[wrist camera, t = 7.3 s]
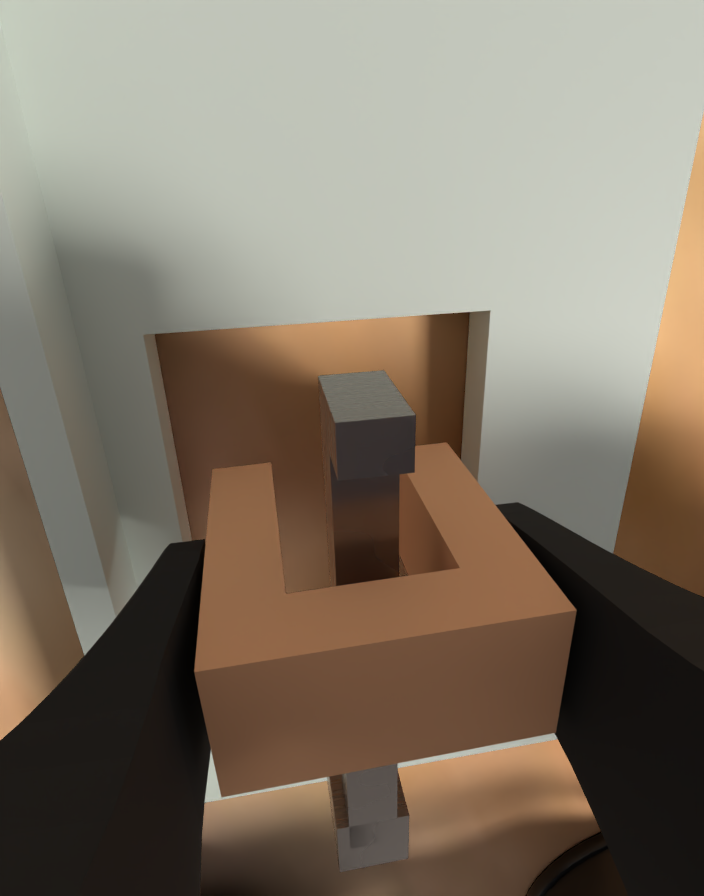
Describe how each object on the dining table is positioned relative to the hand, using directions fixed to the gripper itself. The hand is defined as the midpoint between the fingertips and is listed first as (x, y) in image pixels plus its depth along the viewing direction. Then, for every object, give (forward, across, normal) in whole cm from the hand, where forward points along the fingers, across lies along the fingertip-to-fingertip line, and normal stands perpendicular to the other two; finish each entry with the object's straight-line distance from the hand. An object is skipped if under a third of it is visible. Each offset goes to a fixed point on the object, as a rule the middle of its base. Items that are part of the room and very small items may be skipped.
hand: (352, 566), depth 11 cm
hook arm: (+4, 0, +1) cm, 4 cm away
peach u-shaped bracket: (+2, 0, 0) cm, 2 cm away
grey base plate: (+4, -1, -1) cm, 4 cm away
